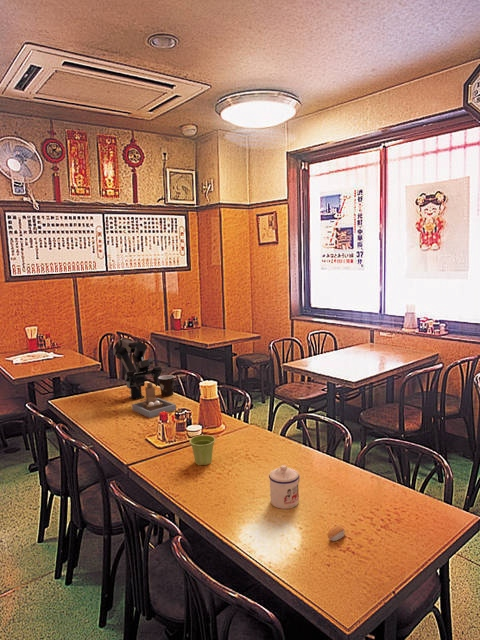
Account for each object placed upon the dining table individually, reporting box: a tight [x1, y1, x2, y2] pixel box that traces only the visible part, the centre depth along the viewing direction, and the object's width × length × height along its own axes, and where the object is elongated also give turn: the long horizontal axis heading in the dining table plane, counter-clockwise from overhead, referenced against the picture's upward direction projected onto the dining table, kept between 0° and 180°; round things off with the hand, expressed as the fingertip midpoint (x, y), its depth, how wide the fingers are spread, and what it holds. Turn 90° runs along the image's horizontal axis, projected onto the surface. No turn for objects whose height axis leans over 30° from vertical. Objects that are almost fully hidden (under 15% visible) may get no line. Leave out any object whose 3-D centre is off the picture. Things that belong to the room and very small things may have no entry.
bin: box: [131, 397, 177, 419], centre depth 241 cm, size 17×15×3 cm
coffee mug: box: [157, 374, 178, 397], centre depth 265 cm, size 12×9×10 cm
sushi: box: [327, 525, 346, 542], centre depth 129 cm, size 3×6×3 cm, turn 131°
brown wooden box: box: [141, 382, 163, 411], centre depth 242 cm, size 9×8×12 cm
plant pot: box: [189, 434, 216, 466], centre depth 179 cm, size 9×9×9 cm
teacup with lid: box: [268, 464, 301, 510], centre depth 149 cm, size 12×9×12 cm
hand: (148, 387), depth 245 cm, fingers open, 9 cm apart
